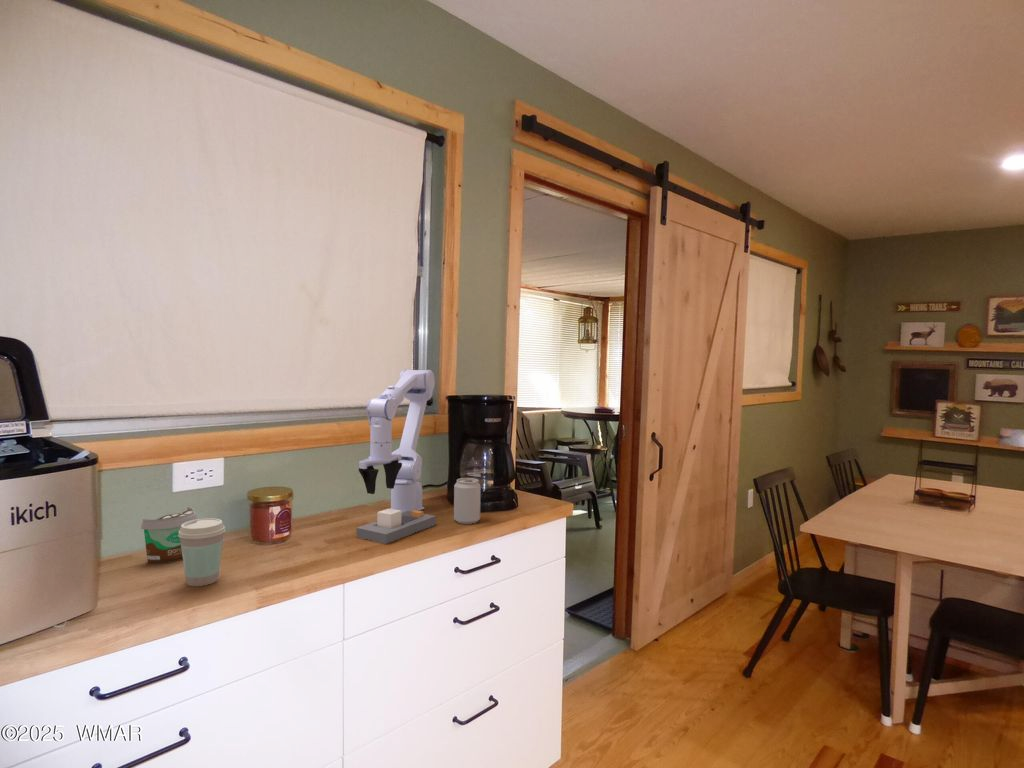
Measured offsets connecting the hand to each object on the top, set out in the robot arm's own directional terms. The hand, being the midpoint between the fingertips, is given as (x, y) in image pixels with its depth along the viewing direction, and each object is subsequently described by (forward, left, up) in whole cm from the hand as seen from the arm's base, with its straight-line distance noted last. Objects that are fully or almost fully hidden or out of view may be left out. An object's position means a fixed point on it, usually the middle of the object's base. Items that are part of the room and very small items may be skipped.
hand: (380, 490), depth 161 cm
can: (-16, +18, -10) cm, 26 cm away
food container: (+45, -20, -10) cm, 50 cm away
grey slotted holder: (+2, +8, -9) cm, 13 cm away
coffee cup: (+50, -2, -10) cm, 51 cm away
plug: (+5, +8, -10) cm, 13 cm away
